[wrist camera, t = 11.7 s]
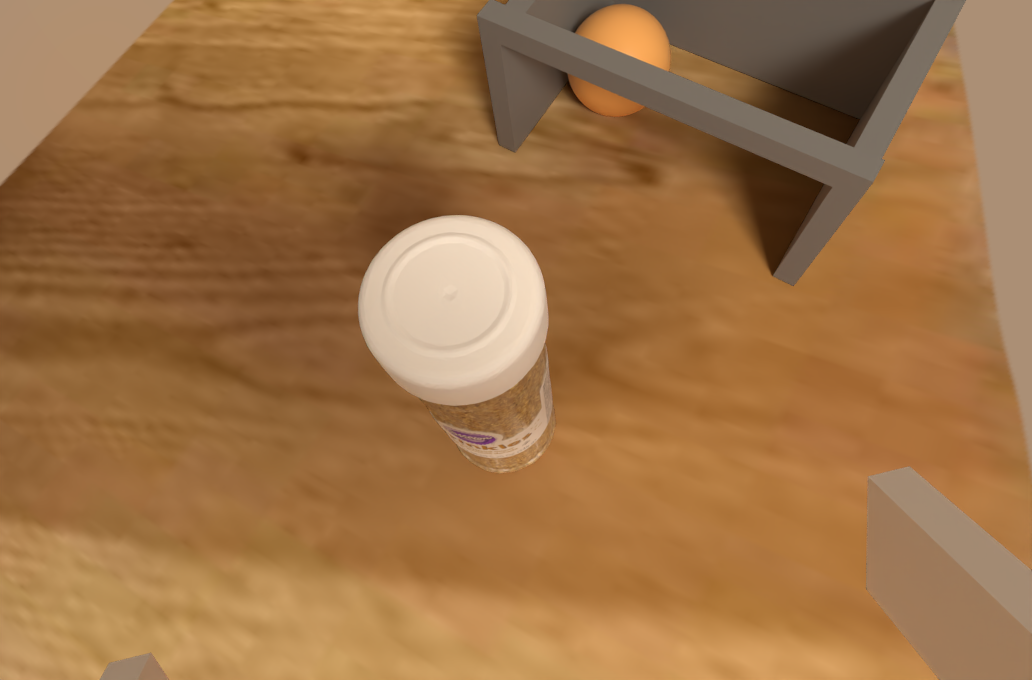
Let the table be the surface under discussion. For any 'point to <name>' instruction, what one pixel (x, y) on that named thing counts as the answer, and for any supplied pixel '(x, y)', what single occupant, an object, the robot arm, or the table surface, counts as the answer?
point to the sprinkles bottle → (465, 335)
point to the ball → (630, 36)
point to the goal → (748, 49)
